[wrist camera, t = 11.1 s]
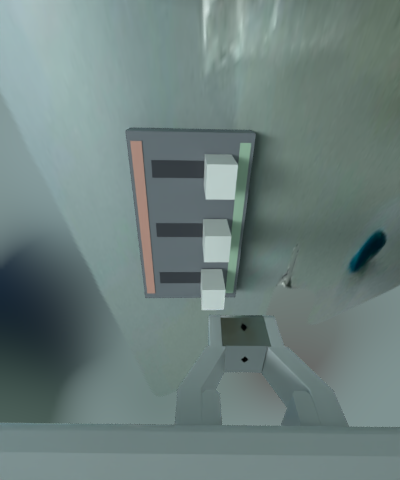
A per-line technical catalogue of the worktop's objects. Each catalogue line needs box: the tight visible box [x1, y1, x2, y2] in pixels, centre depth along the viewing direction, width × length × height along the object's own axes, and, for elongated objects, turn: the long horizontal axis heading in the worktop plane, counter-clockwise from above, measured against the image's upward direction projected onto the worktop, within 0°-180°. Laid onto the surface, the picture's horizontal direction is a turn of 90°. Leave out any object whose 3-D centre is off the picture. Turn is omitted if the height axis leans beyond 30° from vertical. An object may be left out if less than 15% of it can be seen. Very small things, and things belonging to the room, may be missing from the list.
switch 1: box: [204, 154, 238, 200], centre depth 27 cm, size 3×4×4 cm
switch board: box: [126, 128, 256, 298], centre depth 34 cm, size 14×24×3 cm, turn 179°
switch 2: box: [201, 269, 226, 310], centre depth 35 cm, size 3×4×4 cm
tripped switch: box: [203, 219, 232, 262], centre depth 31 cm, size 3×4×4 cm
